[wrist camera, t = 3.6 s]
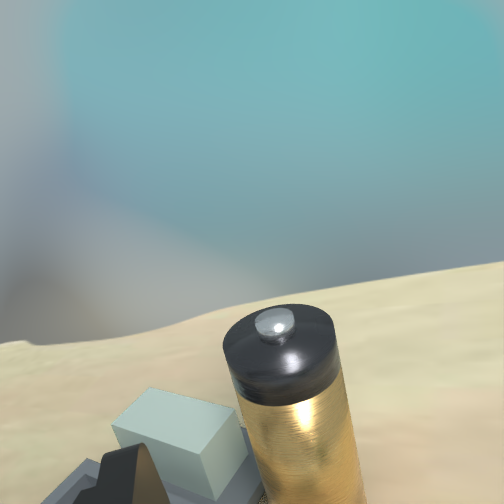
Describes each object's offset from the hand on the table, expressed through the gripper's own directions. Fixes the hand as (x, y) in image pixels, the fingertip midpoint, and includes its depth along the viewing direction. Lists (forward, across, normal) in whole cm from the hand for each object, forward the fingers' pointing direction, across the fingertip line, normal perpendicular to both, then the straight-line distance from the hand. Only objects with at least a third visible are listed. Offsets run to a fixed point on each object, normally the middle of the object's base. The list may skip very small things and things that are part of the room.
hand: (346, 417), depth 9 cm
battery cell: (+11, 0, +19) cm, 22 cm away
